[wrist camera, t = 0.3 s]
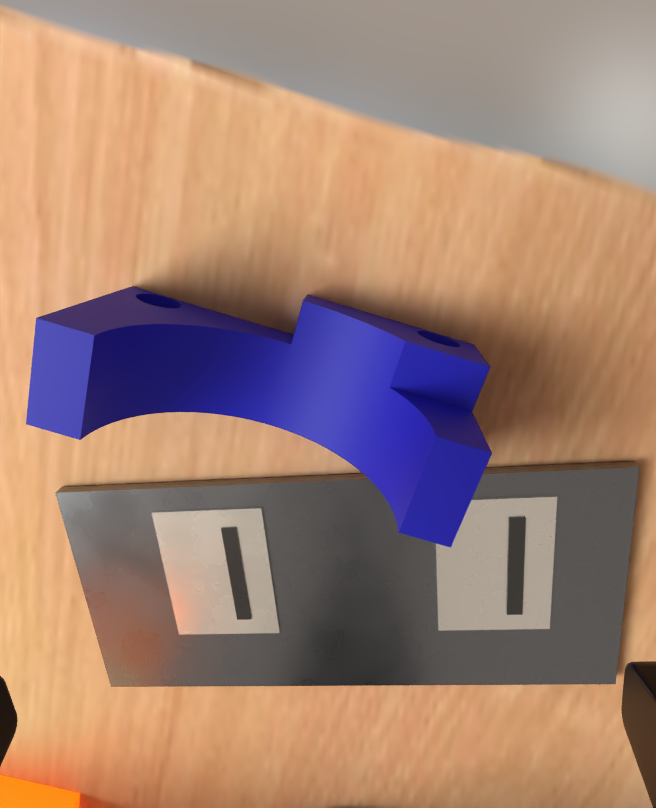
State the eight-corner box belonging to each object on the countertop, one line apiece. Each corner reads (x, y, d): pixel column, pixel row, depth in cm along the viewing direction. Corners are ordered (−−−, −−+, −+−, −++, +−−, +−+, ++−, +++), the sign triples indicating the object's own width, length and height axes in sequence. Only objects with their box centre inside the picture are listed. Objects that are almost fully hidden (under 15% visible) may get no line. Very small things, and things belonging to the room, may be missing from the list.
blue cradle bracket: (472, 343, 19) (515, 400, 13) (429, 454, 21) (450, 547, 15) (140, 243, 19) (42, 259, 13) (121, 364, 20) (26, 424, 15)
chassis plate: (610, 674, 23) (617, 687, 23) (115, 677, 25) (109, 689, 25) (633, 461, 20) (641, 469, 19) (61, 486, 22) (52, 495, 22)
